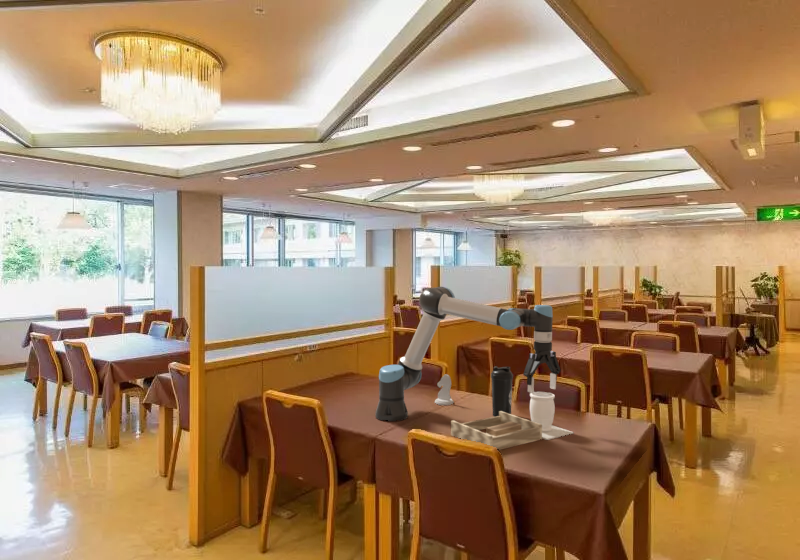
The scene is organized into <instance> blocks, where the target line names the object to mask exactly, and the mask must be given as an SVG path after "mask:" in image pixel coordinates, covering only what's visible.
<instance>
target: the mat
mask: <svg viewBox="0 0 800 560" xmlns="http://www.w3.org/2000/svg"><path fill="white" fill-rule="evenodd" d="M551 427H552V430H551V431H548V432H542V439H544V440H546V441H549V440H553V439H557V438H562V437H565V435H566V436H568V435H569V434H570V435H574V433H575V432H574V431H571V430H568V429H566V428H562V427H559V426H555V425H553V424H552V425H551ZM570 435H569V436H570ZM561 436H562V437H561Z"/></svg>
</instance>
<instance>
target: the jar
mask: <svg viewBox="0 0 800 560" xmlns="http://www.w3.org/2000/svg"><path fill="white" fill-rule="evenodd" d="M529 397H530V400H529V415H530V421H533V422H536V423H539V424H542V432H548V431H551V430H552V427H551V425H553V423H554V419H555V418H554V417H555V414H556V413H555V412H556V411H555V409H556V407H555V398H556V397H555V394H554V393H552V392H545V391H534V393H530V392H529Z"/></svg>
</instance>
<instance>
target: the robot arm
mask: <svg viewBox="0 0 800 560" xmlns="http://www.w3.org/2000/svg"><path fill="white" fill-rule="evenodd" d="M418 299H419V301H418V302H419V305H420V307H421V309H422V312H423V314H422V315H421V316H422V317H421V319H420V321H419V323H418V326H417V328H416V330H415V333H414V334H413V336H412V339H411V342H410V344H409V346H408V348H407V350H406V353H405V354H404V356H401V357H400V358H399V361H398V363H397V364H389V365H388V364H387V365H384V366H381V368H380V369H379V373H378V390H379V392H378V396H379V397H378V402H377V407H376V409H375V418H376V419H377V420H380V421H383V420H388V421H387V422H397V421H396V420H399V421H404V420H406V419H408V418H409V413H408V409H407V405H406V403H405V390H409V389H411V388H413V387H416V386H417V385H418V384H419V382H420V381H421V380H422V369H423V365H422V362H423V360H424V358H425V355H426V353H427V351H428V348H429V346H430V344H431V342H432V340H433V337H434V335H435V334H436V331H437V329H438V326H439V324H440V322H441V321H443V320H445V318H446V316H447V315H450V316H453V317H459V318H463V319H467V320H471V321H475V322H480V323H484V324H488V325H494V326H497V327H501V328H502V329H504V330H508V331H510V330H511V331H512V330H515V329H517V328H519V327H520V328H521V327H532V328H534V329H533V340H534V341H533V350H534V353H531V352H530V353H529V354H528V360H527V363H526V365H525V368H524V370H523V371H524V372H523V374H522V375H523V376H524V377H526V384H527V393H529V394H530V393H534V392H535V390H534V388H535V386H534V385H535V377H534V374H536V372H537V370H538V369H539V367H540V365H542V364H546V365H547V368H548V370H550V373H549V388H550V389H552V390H556V388H557V381H558V376H557V375H559V374H560V373H561V367H560V365H559V362H558V359H557V352H556V351H554V350H553V342H552V341H553V320H554V319H553V318H554V316H553V313H554V312H553V307H552V306H551V305H550V304H536V305H534V308H533V309H532V308H530V309H529V308H517V307H512V308H511V307H510V308H508V309H506V308H501V307H497V306H493V305H488V304H487V305H486V304H482V303H479V302H475V301H474V302H473V301H470V300H469V301H468V300H464V299H460V298H456V297H455V294H454V292H453V291H452V290H451V289H450V288H448V287H445V286H437V287H428V288H426V289H424V290H423V291H422V292H421V293H420V296H419V298H418ZM403 419H404V420H403Z"/></svg>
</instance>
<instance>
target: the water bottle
mask: <svg viewBox="0 0 800 560" xmlns="http://www.w3.org/2000/svg"><path fill="white" fill-rule="evenodd" d="M513 378H514V374H513V372H512V371H511V366H502V367H498V366H497V365H495V366H494V367H493V370H492V371H491V373H490V379H491V396H492V397H491V401H492V403H491V404H492V417H495V416H499V411H503V412H506V413H509V414H512V401H513V400H512V398H513Z"/></svg>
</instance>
